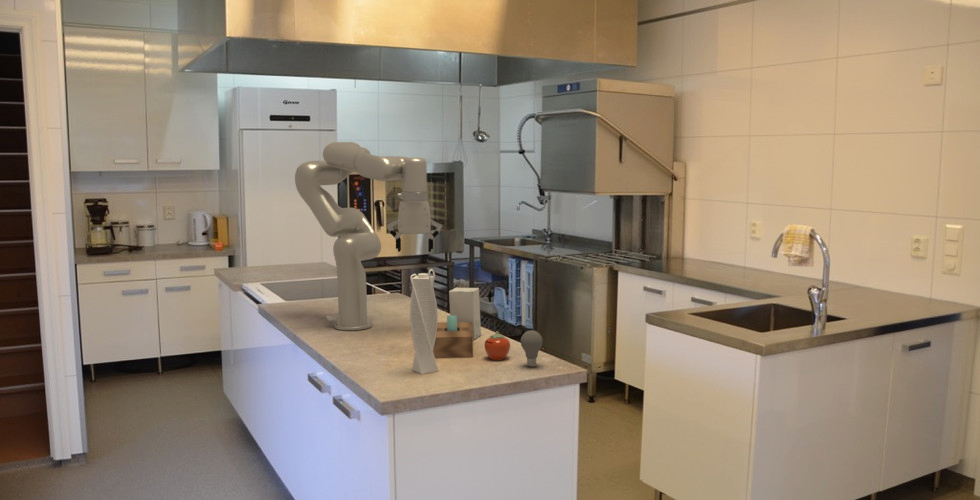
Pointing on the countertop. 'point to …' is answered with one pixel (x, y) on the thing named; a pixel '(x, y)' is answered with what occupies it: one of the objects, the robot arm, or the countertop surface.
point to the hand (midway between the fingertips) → (414, 251)
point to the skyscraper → (423, 322)
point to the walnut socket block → (453, 341)
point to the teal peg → (452, 323)
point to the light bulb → (531, 346)
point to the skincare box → (466, 307)
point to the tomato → (497, 346)
